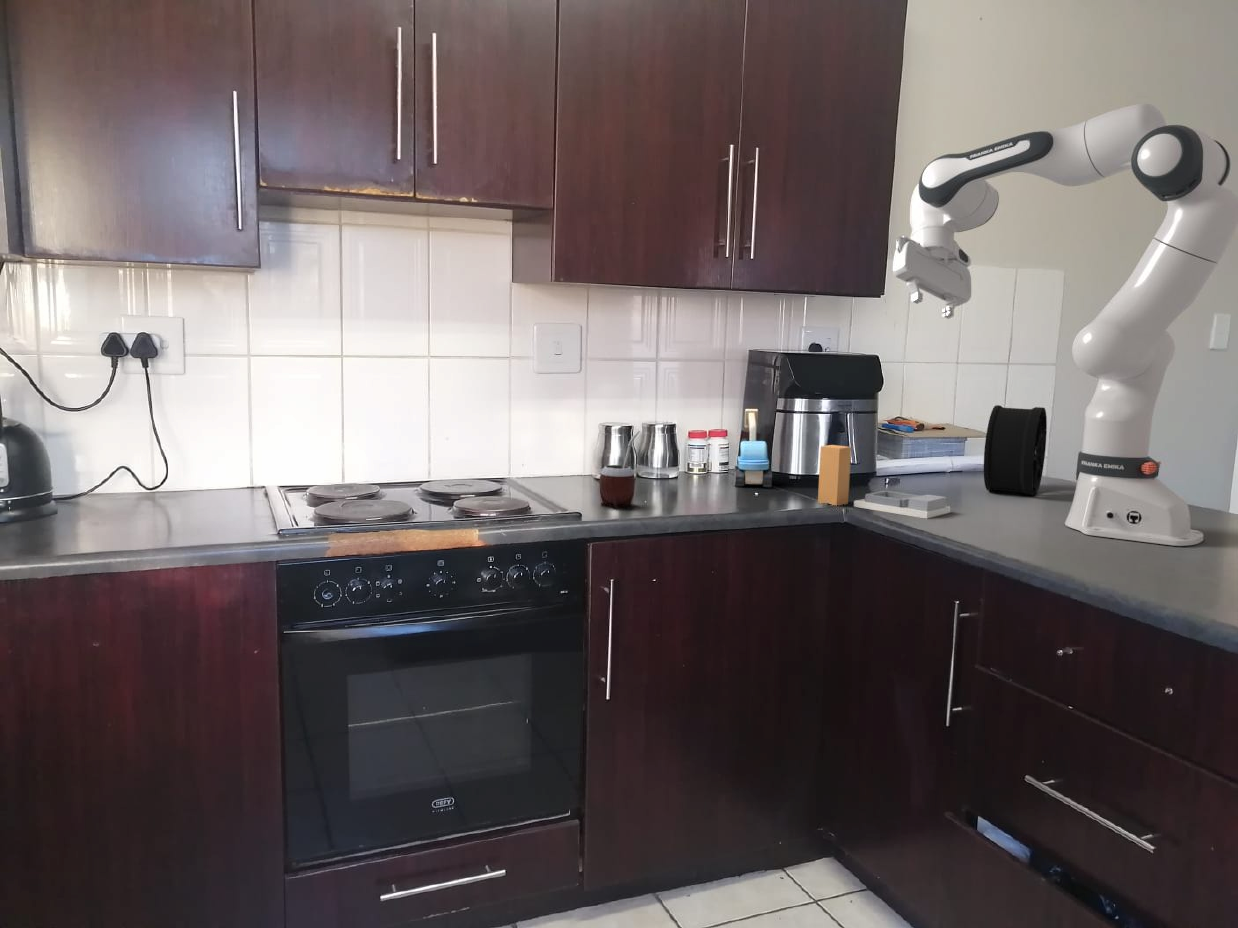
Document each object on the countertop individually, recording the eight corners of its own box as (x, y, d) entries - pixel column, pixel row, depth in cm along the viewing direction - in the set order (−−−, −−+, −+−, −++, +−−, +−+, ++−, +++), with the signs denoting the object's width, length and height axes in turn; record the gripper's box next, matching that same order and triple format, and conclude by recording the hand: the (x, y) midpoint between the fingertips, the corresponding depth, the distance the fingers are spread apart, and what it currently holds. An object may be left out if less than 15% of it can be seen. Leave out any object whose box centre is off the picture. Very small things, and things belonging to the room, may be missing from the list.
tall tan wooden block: (847, 503, 195) (851, 447, 193) (836, 506, 192) (839, 448, 190) (829, 500, 198) (832, 444, 196) (817, 502, 195) (820, 446, 193)
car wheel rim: (1029, 501, 203) (1037, 410, 200) (980, 496, 208) (987, 407, 206) (1041, 489, 220) (1049, 405, 217) (996, 485, 225) (1003, 402, 222)
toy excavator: (768, 478, 227) (771, 408, 225) (772, 489, 211) (776, 414, 208) (732, 477, 228) (735, 407, 226) (734, 488, 212) (737, 413, 209)
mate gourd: (596, 508, 183) (598, 433, 181) (602, 501, 191) (603, 429, 188) (634, 510, 182) (636, 434, 180) (638, 503, 190) (640, 430, 188)
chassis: (949, 512, 187) (951, 496, 187) (926, 518, 180) (927, 502, 180) (878, 501, 199) (879, 486, 198) (853, 506, 191) (854, 491, 191)
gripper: (909, 225, 187) (909, 286, 182) (976, 261, 197) (977, 319, 192) (885, 239, 192) (885, 298, 187) (951, 273, 202) (952, 330, 197)
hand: (932, 309), depth 190 cm, fingers open, 8 cm apart
